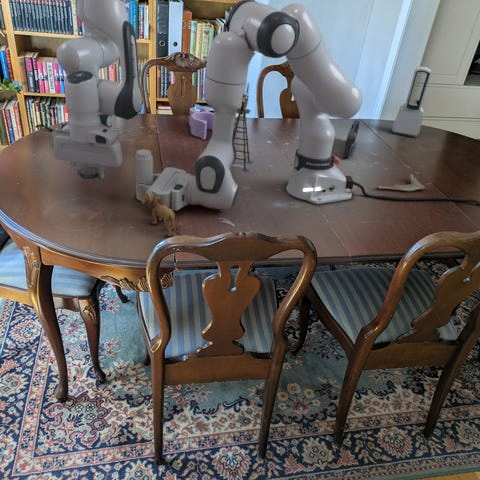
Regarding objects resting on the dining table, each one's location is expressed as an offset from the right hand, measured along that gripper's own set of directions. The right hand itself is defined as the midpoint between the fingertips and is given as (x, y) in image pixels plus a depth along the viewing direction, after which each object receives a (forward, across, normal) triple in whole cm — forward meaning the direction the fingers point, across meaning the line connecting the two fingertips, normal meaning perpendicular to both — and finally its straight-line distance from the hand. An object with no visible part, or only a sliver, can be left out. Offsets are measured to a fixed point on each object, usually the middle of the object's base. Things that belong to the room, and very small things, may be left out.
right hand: (141, 181), depth 143 cm
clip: (-3, -65, +5) cm, 66 cm away
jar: (-1, 0, +5) cm, 5 cm away
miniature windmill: (-23, -36, +5) cm, 43 cm away
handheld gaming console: (-66, -69, +5) cm, 96 cm away
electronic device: (-92, -102, +5) cm, 138 cm away
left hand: (+15, +4, -1) cm, 15 cm away
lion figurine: (-11, +15, +5) cm, 20 cm away
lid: (+15, +4, -3) cm, 16 cm away
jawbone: (-83, -41, +5) cm, 92 cm away
